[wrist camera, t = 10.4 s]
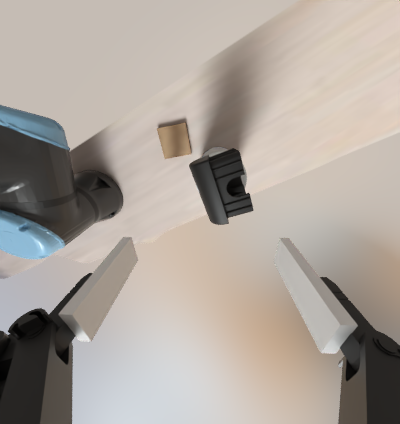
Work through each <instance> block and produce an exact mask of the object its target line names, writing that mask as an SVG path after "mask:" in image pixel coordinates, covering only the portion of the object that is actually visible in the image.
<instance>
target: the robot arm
mask: <svg viewBox="0 0 400 424" xmlns="http://www.w3.org/2000/svg"><path fill="white" fill-rule="evenodd" d="M69 150H70V148H69V147H68V145H67V140H66V137H65V132H64V130H63V128H62V126H60V125H59V123H57V122H56V121H54V120H52V119H49V118H46V117H43V116H39V115H36V114H32V113H28V112H25V111H21V110H17V109H13V108H10V107H6V106H2V105H0V249H1V250H3V251H5V252H7V253H9V254H12V255H15V256H18V257H21V258H26V259H42V258H45V257H48V256H50V255H51V254H53V253H54V252H56V251H57V250H59V249H61V248H63V247H64V246H65V245H67V244H68V243H69V242H71V241H72V240H73V239H74V238H76V237H77V236H78V235H80V234H81V233H82V232H84V231H85V230H86V229H88V228H89V227H90V226H91V225H93V224H94V223H97V222H100V221H104V220H107V219H110V218H112V217H114V216H115V215H116V214H118V213H119V212H120V210H121V208H122V206H123V197H122V193H121V191H120V189H119V187H118V186H117V185H116V183H115V182H114V181H113V180H112V179H111V178H109V177H108V176H106V175H105V174H103V173H100V172H97V171H91V170H90V171H84V172H80V173H77V174H75V175H73V169H72V164H71V158H70V152H69ZM137 261H138V258H137V255H136V251H135V248H134V244H133V241H132V238H131V237H123V238H122V240H121V241H120V242H119V243H118V244H117V245H116V247H115V248H114V249H113V250H112V251H111V253H110V254H109V255H108V256H107V257H106V258H105V260H104V261H103V262H102V263H101V265H100V266H99V267H98V268H97V269H96V270H95V271H94V273H89V274H87V275H86V276H84V277H83V278H82V279H81V280H80V281H79V282H78V283H77V284H76V286H75V287H74V288H73V289H72V290H71V291H70V293H68V294H67V295H66V296H65V298H64V299H63V300H62V301H61V302H60V303H59V304H58V305H57V306H56V308H55V309H54V310H53V311H52V312H51V313H50V314H49V315H48V314H47V312H46V311H45V310H43V309H41V308H40V309H34V310H32V311H29V312H27V313H26V314H24V315H23V316H21V317H20V318H18V319H17V320H16V321H15V322H14V323H13V324H12V325H11V327H10V328H9V330H8V332H9V333H10V335H7V334H5V333H4V332H3V331H0V424H72V363H73V362H72V361H73V359H72V357H73V346H72V340H73V339H74V337H75V336H76V338H77V339H78V340H79V341H89V342H90V341H92V340H93V338H94V336H95V334H96V333H97V331H98V329H99V327H100V326H101V324H102V322H103V320H104V319H105V317H106V315H107V313H108V312H109V310H110V308H111V306H112V305H113V303H114V301H115V299H116V298H117V296H118V294H119V292H120V291H121V289H122V287H123V285H124V284H125V282H126V280H127V279H128V277H129V275H130V273H131V272H132V270H133V268H134V266H135V265H136V263H137ZM274 264H275V265H276V267H277V269H278V271H279V273H280V275H281V277H282V279H283V281H284V283H285V285H286V287H287V289H288V291H289V293H290V294H291V296H292V298H293V300H294V302H295V304H296V306H297V308H298V310H299V312H300V314H301V316H302V318H303V319H304V321H305V323H306V325H307V327H308V329H309V331H310V333H311V335H312V337H313V338H314V341H315V343H316V345H317V347H318V348H319V350H320V352H321V353H334V354H335V353H337V351H338V350H339V349H341V350H342V352H343V354H344V355H345V356H344V357H343V359H342V360H341V361H340V362H339V364H338V367H340V368H341V367H342V365H343V368H342V382H341V395H340V409H339V423H338V424H400V345H398V344H397V343H396V342H395V341H394V340H393V339H391V338H390V337H388V336H387V335H385V334H383V333H381V332H378V331H376V330H375V329H374V328H373V327H372V326H371V325H370V324H369V323H368V321H367V320H366V319H365V318H364V317H363V315H362V314H361V313H360V312H359V311H358V310H357V308H356V307H355V306H354V305H353V304H352V303H351V301H349V300H348V298H347V297H346V296H345V295H344V294H343V293H342V291H341V290H340V289H339V288H338V286H337V285H336V284H335V283H333V282H332V281H331V280H329V279H328V278H327V277H319V276H318V274H317V273H316V272H315V271H314V269H313V268H312V267H311V266H310V264H309V263H308V262H307V260H306V259H305V258H304V257H303V255H302V254H301V253H300V252H299V250H298V249H297V248H296V247H295V245H294V244H293V243H292V241H291V240H290V239H289V238H280V239H279V242H278V246H277V251H276V254H275V258H274Z"/></svg>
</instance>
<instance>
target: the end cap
mask: <svg viewBox="0 0 400 424" xmlns="http://www.w3.org/2000/svg"><path fill="white" fill-rule="evenodd" d="M189 167H190V170H191V172H192V175H193V177H194V180H195V183H196V185H197V188H198V190H199V193H200V196H201V198H202V201H203V203H204V206H205V209H206V211H207V214H208V216H209V219H210V221H211V222H212V223H214V224H218V225H223V224H228V223H229V222H228V218H229V217H233V216H236V215H240V214H244V213H247V212H251V211H253V206H252V202H251V198H250V194H249V193H247V194H246V192H245V188H244V185H243V183H242V179H241V176H242V175H245V172H244V168H243V164H242V160H241V156H240V152H239V151H238V150H236V149H234V148H233V149H230V150H227V151H225V152H222V153H219V154H217V155H214V156H211V157H209V155H207V156H204V157H202V158H200V159H198V160H195V161H194V162H192V163H190V165H189Z"/></svg>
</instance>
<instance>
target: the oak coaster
mask: <svg viewBox="0 0 400 424" xmlns="http://www.w3.org/2000/svg"><path fill="white" fill-rule="evenodd" d="M157 131H158V135H159V138H160V142H161V146H162V150H163V154H164V157H165V159H167V158H172V157H178V156H183V155H189V154H191V148H190V143H189V138H188V132H187V127H186V123H181V124H176V125H172V126H167V127H162V128H158V129H157Z"/></svg>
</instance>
